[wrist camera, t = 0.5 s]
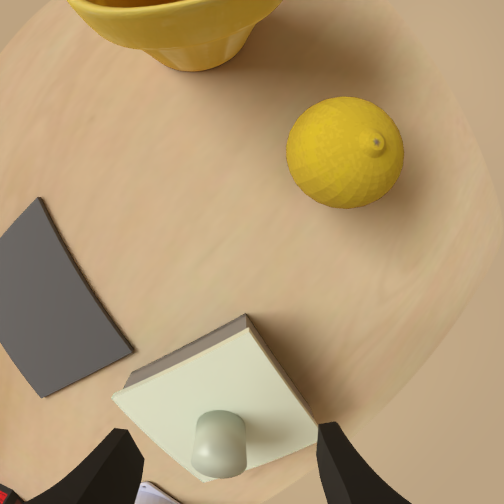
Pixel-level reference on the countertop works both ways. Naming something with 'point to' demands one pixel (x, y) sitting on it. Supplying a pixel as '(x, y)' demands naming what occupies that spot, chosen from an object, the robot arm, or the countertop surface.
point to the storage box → (205, 343)
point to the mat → (50, 308)
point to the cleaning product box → (9, 496)
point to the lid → (221, 410)
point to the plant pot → (177, 27)
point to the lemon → (345, 152)
